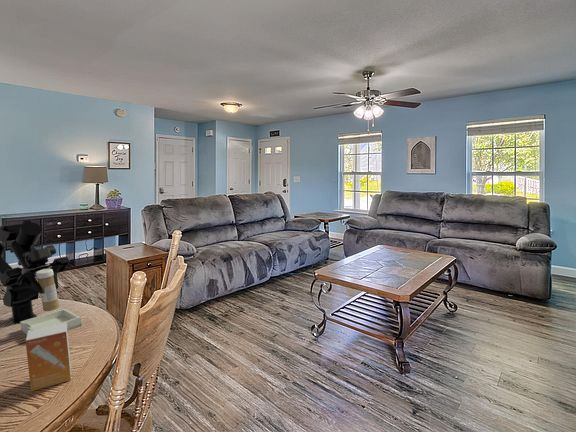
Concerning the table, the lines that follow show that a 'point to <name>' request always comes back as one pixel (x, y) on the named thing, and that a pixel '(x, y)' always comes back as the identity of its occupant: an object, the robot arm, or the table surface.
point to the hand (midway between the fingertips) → (50, 290)
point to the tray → (52, 320)
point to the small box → (48, 356)
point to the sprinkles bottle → (47, 289)
